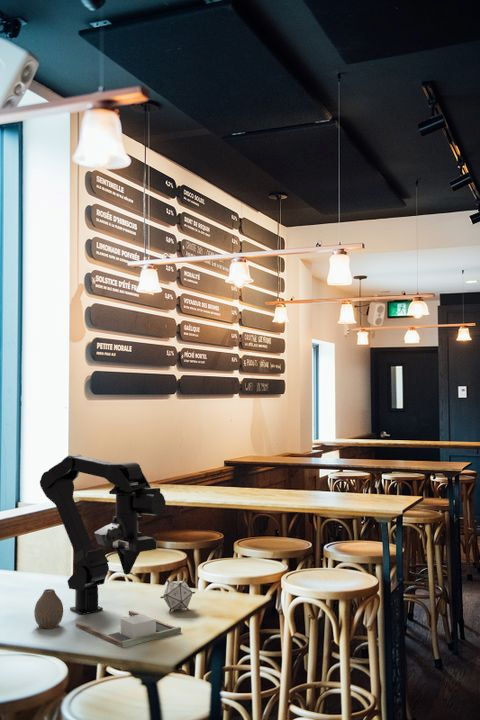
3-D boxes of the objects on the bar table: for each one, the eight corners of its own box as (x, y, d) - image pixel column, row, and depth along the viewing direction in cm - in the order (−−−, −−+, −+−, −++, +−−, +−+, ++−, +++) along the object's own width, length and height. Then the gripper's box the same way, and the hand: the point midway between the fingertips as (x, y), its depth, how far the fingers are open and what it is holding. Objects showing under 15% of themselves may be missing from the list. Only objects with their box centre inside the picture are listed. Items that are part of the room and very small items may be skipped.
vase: (38, 621, 191) (39, 586, 192) (66, 622, 191) (66, 586, 192) (30, 630, 184) (30, 593, 185) (58, 630, 184) (59, 593, 185)
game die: (182, 626, 200) (188, 601, 194) (153, 612, 202) (158, 587, 196) (196, 601, 207) (202, 577, 202) (167, 589, 209) (173, 564, 204)
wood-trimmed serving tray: (75, 626, 188) (75, 621, 188) (131, 613, 198) (131, 608, 198) (123, 647, 172) (123, 642, 172) (180, 632, 182) (180, 627, 183)
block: (120, 635, 181) (120, 618, 181) (142, 630, 185) (142, 613, 185) (133, 641, 177) (133, 624, 177) (155, 636, 180) (155, 619, 180)
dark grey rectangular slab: (106, 637, 179) (106, 635, 179) (155, 625, 188) (155, 623, 188) (120, 643, 175) (120, 641, 175) (170, 630, 184) (170, 628, 184)
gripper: (80, 511, 197) (80, 572, 197) (120, 520, 183) (119, 586, 183) (117, 507, 205) (117, 566, 204) (158, 515, 191) (158, 578, 190)
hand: (126, 574), depth 195 cm, fingers closed
